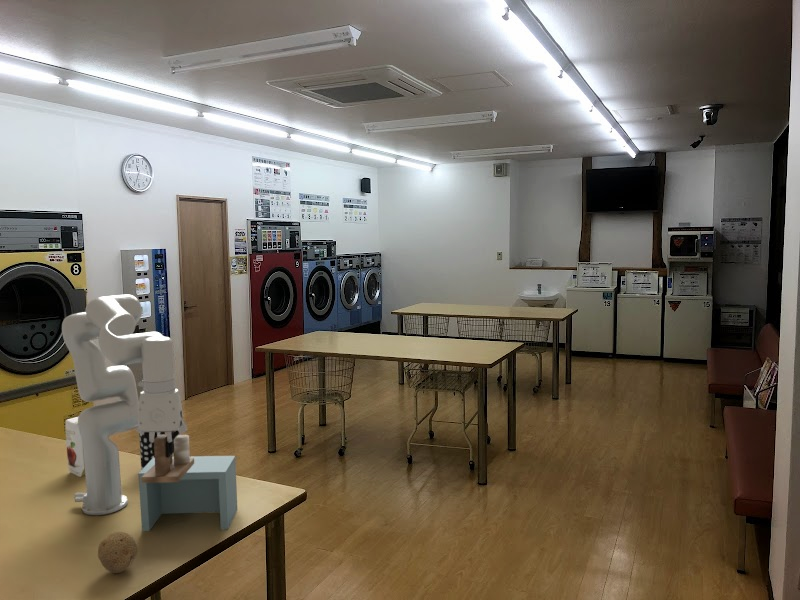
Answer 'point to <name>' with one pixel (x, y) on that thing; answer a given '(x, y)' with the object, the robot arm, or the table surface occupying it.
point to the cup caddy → (169, 461)
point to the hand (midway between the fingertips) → (163, 455)
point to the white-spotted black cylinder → (146, 450)
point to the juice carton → (74, 447)
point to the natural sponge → (117, 551)
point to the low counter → (192, 491)
